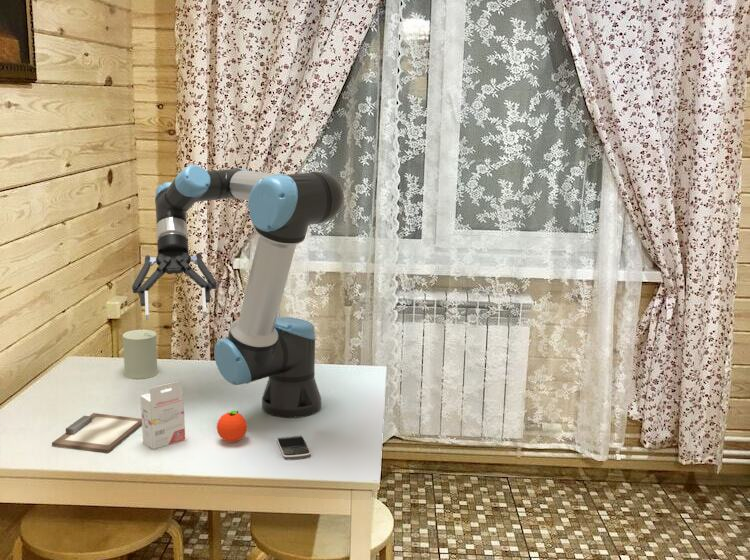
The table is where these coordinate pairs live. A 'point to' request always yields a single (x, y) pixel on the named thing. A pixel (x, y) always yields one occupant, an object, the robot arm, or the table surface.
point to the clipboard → (98, 432)
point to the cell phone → (293, 447)
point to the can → (140, 354)
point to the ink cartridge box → (163, 415)
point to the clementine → (232, 426)
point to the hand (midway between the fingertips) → (176, 315)
